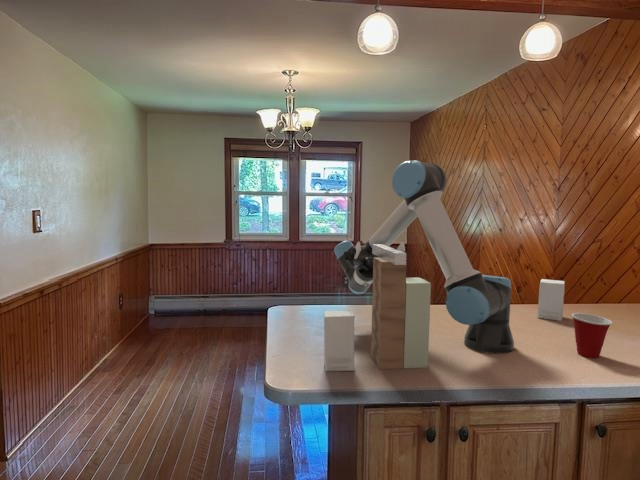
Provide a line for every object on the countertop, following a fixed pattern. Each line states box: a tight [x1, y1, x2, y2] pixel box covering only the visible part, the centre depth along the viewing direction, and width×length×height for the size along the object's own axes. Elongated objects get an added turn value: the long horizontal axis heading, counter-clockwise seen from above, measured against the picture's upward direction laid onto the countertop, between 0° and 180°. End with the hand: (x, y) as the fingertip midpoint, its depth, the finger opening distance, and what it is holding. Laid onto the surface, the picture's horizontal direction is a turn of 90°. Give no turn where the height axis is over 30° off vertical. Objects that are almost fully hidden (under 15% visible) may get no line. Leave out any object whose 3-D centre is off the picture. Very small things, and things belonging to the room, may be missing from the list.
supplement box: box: [537, 278, 566, 322], centre depth 183 cm, size 9×9×15 cm
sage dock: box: [402, 277, 432, 369], centre depth 129 cm, size 9×7×24 cm
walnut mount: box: [370, 258, 408, 370], centre depth 128 cm, size 9×7×30 cm
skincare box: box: [323, 310, 355, 372], centre depth 125 cm, size 8×7×16 cm
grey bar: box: [372, 244, 407, 265], centre depth 129 cm, size 24×3×3 cm, turn 8°
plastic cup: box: [571, 312, 613, 359], centre depth 138 cm, size 11×11×12 cm
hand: (381, 245), depth 135 cm, fingers open, 13 cm apart
